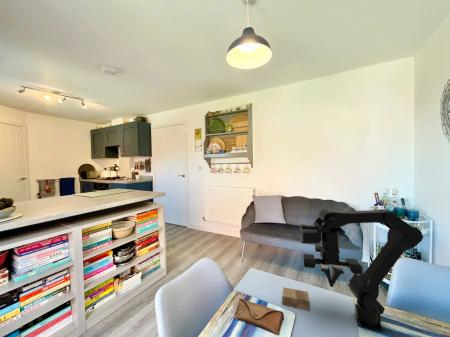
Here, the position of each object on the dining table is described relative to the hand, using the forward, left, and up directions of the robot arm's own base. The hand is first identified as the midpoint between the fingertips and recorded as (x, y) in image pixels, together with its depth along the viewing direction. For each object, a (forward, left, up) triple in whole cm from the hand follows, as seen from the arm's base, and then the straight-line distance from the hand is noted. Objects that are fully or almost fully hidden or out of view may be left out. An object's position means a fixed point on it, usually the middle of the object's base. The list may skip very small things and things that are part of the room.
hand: (331, 286), depth 70 cm
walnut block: (+7, -5, -10) cm, 14 cm away
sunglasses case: (+26, +8, -13) cm, 30 cm away
